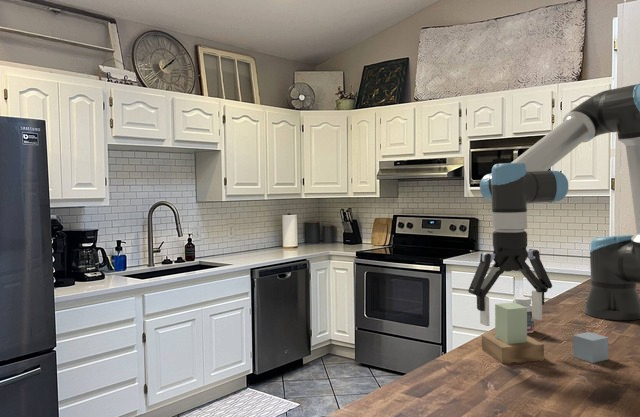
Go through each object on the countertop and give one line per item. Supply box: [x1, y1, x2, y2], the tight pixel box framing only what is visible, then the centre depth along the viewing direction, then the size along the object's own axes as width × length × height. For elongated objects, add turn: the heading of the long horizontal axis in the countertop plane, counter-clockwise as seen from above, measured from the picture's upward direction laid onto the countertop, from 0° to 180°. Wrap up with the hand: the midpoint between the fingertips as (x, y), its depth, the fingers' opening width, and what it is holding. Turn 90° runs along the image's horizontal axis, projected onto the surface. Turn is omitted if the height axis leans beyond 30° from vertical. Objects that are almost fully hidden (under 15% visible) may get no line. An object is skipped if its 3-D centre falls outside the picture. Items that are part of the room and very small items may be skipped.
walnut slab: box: [481, 333, 545, 364], centre depth 123 cm, size 10×10×4 cm
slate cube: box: [572, 331, 609, 364], centre depth 119 cm, size 5×5×5 cm
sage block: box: [494, 301, 528, 344], centre depth 122 cm, size 5×5×8 cm
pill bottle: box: [514, 296, 535, 334], centre depth 141 cm, size 5×5×9 cm
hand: (511, 321), depth 122 cm, fingers open, 13 cm apart
